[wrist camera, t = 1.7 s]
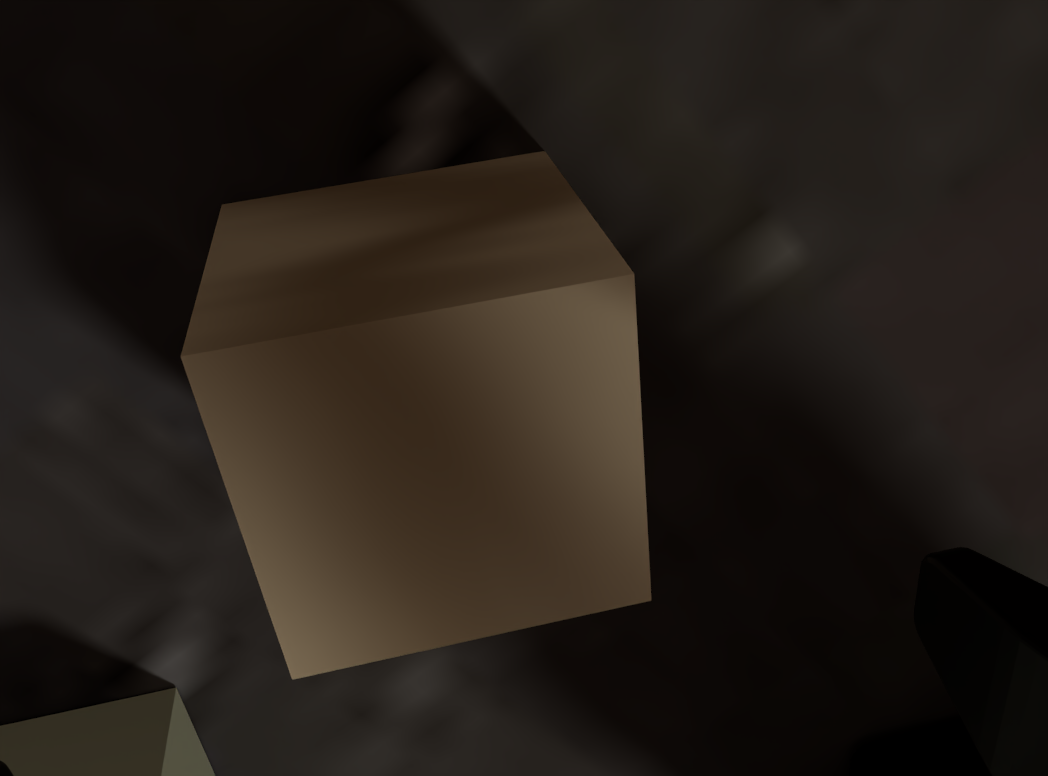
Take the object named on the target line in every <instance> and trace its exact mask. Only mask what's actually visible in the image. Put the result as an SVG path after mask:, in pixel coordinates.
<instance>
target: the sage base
mask: <svg viewBox="0 0 1048 776" xmlns="http://www.w3.org/2000/svg"><path fill="white" fill-rule="evenodd" d="M0 761H2V762H4V763H5V764H6V765H7V766H8V768H9V769H10V771H11V772H12V774H13V776H215V774H214V772H213V770H212V767H211V765H210V763H209V761H208V758H207V756H206V754H205V752H204V749H203V747H202V745H201V742H200V740H199V738H198V736H197V733H196V731H195V729H194V727H193V724H192V722H191V720H190V718H189V715H188V713H187V711H186V709H185V706H184V704H183V702H182V700H181V697H180V695H179V693H178V691H177V688H172V689H167V690H163V691H158V692H154V693H149V694H144V695H140V696H135V697H131V698H126V699H122V700H117V701H112V702H108V703H103V704H99V705H94V706H89V707H85V708H80V709H76V710H71V711H67V712H62V713H57V714H53V715H48V716H44V717H39V718H34V719H30V720H25V721H21V722H16V723H11V724H7V725H2V726H0Z"/></svg>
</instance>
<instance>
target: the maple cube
mask: <svg viewBox="0 0 1048 776" xmlns="http://www.w3.org/2000/svg"><path fill="white" fill-rule="evenodd" d="M181 359H182V362H183V365H184V368H185V371H186V374H187V377H188V380H189V382H190V385H191V388H192V391H193V394H194V397H195V400H196V403H197V406H198V408H199V411H200V414H201V417H202V420H203V423H204V426H205V429H206V432H207V435H208V437H209V440H210V443H211V446H212V449H213V452H214V455H215V458H216V461H217V463H218V466H219V469H220V472H221V475H222V478H223V481H224V484H225V487H226V489H227V492H228V495H229V498H230V501H231V504H232V507H233V510H234V513H235V515H236V518H237V521H238V524H239V527H240V530H241V533H242V536H243V539H244V542H245V544H246V547H247V550H248V553H249V556H250V559H251V562H252V565H253V568H254V570H255V573H256V576H257V579H258V582H259V585H260V588H261V591H262V594H263V596H264V599H265V602H266V605H267V608H268V611H269V614H270V617H271V620H272V623H273V625H274V628H275V631H276V634H277V637H278V640H279V643H280V646H281V649H282V651H283V654H284V657H285V660H286V663H287V666H288V669H289V672H290V675H291V677H292V680H293V679H297V678H302V677H306V676H311V675H316V674H320V673H325V672H329V671H334V670H338V669H343V668H347V667H352V666H356V665H361V664H366V663H370V662H375V661H379V660H384V659H388V658H393V657H397V656H402V655H406V654H411V653H415V652H420V651H425V650H429V649H434V648H438V647H443V646H447V645H452V644H456V643H461V642H465V641H470V640H475V639H479V638H484V637H488V636H493V635H497V634H502V633H506V632H511V631H515V630H520V629H525V628H529V627H534V626H538V625H543V624H547V623H552V622H556V621H561V620H565V619H570V618H574V617H579V616H584V615H588V614H593V613H597V612H602V611H606V610H611V609H615V608H620V607H624V606H629V605H634V604H638V603H643V602H647V601H651V583H650V564H649V545H648V526H647V506H646V487H645V468H644V449H643V430H642V411H641V392H640V373H639V354H638V335H637V316H636V297H635V278H634V273H633V271H632V270H631V269H630V267H629V266H628V265H627V263H626V262H625V260H624V259H623V258H622V256H621V255H620V254H619V252H618V251H617V249H616V248H615V247H614V245H613V244H612V243H611V241H610V240H609V238H608V237H607V236H606V234H605V233H604V232H603V230H602V229H601V228H600V226H599V225H598V223H597V222H596V221H595V219H594V218H593V217H592V215H591V214H590V212H589V211H588V210H587V208H586V207H585V206H584V204H583V203H582V201H581V200H580V199H579V197H578V196H577V195H576V193H575V192H574V191H573V189H572V188H571V186H570V185H569V184H568V182H567V181H566V180H565V178H564V177H563V175H562V174H561V173H560V171H559V170H558V169H557V167H556V166H555V164H554V163H553V162H552V160H551V159H550V158H549V156H548V155H547V153H546V152H545V151H541V152H535V153H529V154H523V155H517V156H511V157H505V158H499V159H493V160H487V161H481V162H475V163H469V164H463V165H457V166H451V167H445V168H439V169H433V170H427V171H421V172H415V173H409V174H403V175H397V176H391V177H385V178H379V179H373V180H367V181H361V182H355V183H349V184H343V185H337V186H331V187H325V188H319V189H313V190H307V191H301V192H295V193H289V194H283V195H277V196H271V197H265V198H259V199H253V200H247V201H241V202H235V203H229V204H223V205H222V206H221V210H220V213H219V217H218V221H217V224H216V228H215V232H214V235H213V239H212V243H211V246H210V250H209V254H208V257H207V261H206V265H205V268H204V272H203V276H202V280H201V283H200V287H199V291H198V294H197V298H196V302H195V305H194V309H193V313H192V316H191V320H190V324H189V327H188V331H187V335H186V338H185V342H184V346H183V349H182V353H181Z"/></svg>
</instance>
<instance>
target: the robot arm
mask: <svg viewBox="0 0 1048 776" xmlns="http://www.w3.org/2000/svg"><path fill="white" fill-rule="evenodd" d="M914 620H915V625H916V629H917V632H918V635H919V637H920V639H921V641H922V643H923V645H924V647H925V649H926V651H927V653H928V655H929V656H930V658H931V660H932V662H933V664H934V666H935V668H936V670H937V672H938V674H939V676H940V678H941V680H942V682H943V684H944V686H945V688H946V690H947V692H948V693H949V695H950V697H951V699H952V701H953V703H954V705H955V707H956V709H957V711H958V713H959V715H960V717H961V719H962V721H958V722H954V723H949V724H945V725H941V726H937V727H933V728H929V729H925V730H921V731H916V732H912V733H908V734H904V735H900V736H896V737H892V738H887V739H883V740H879V741H875V742H871V743H868V744H866V745H863V746H862V747H860V748H859V749H857V750H856V752H855V753H854V754H853V756H852V758H851V763H850V772H849V776H1048V587H1047V586H1045V585H1043V584H1041V583H1038V582H1036V581H1034V580H1032V579H1030V578H1028V577H1026V576H1024V575H1022V574H1020V573H1018V572H1016V571H1014V570H1012V569H1010V568H1008V567H1006V566H1004V565H1002V564H1000V563H998V562H996V561H994V560H992V559H990V558H988V557H986V556H984V555H982V554H980V553H978V552H976V551H973V550H971V549H968V548H964V547H958V548H953V549H949V550H944V551H940V552H935V553H930V554H928V555H927V556H926V557H925V558H924V559H923V561H922V563H921V567H920V574H919V581H918V588H917V594H916V601H915V608H914ZM0 776H13V774H12V772H11V771H10V769H9V768H8V766H7V765H6V764H5V763H4V762H2V761H0Z"/></svg>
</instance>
